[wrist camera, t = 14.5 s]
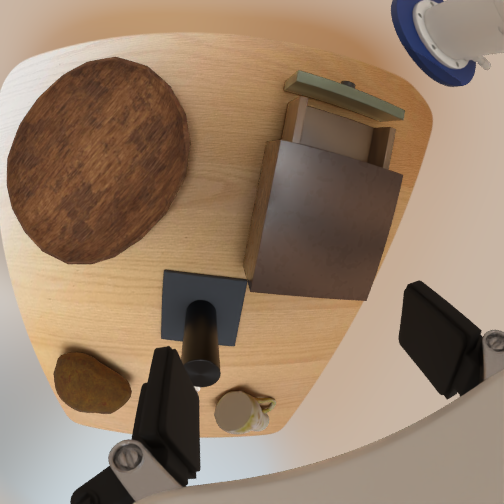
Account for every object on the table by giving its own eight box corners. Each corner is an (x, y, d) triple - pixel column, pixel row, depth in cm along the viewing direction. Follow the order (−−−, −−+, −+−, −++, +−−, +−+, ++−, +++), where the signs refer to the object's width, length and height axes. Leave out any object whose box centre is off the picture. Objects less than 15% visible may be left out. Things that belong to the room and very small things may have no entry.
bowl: (229, 165, 30) (232, 168, 25) (91, 278, 32) (76, 297, 27) (130, 39, 23) (118, 23, 18) (8, 165, 25) (-15, 170, 20)
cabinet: (266, 141, 29) (280, 139, 23) (372, 168, 32) (403, 175, 26) (242, 265, 34) (250, 292, 28) (343, 276, 36) (366, 301, 30)
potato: (118, 398, 39) (108, 438, 31) (58, 363, 36) (39, 399, 27) (138, 374, 38) (128, 417, 30) (71, 333, 34) (48, 371, 26)
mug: (248, 423, 45) (228, 456, 36) (225, 381, 46) (200, 410, 37) (285, 416, 43) (271, 451, 34) (263, 371, 44) (243, 402, 34)
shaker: (218, 301, 34) (222, 361, 24) (214, 326, 36) (218, 388, 25) (187, 298, 34) (180, 357, 24) (185, 323, 35) (179, 385, 25)
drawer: (287, 71, 26) (300, 59, 21) (383, 104, 28) (406, 100, 24) (262, 199, 31) (271, 207, 26) (360, 217, 33) (380, 228, 28)
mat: (246, 279, 35) (247, 281, 34) (234, 343, 38) (234, 346, 37) (164, 269, 33) (163, 271, 32) (161, 336, 36) (161, 339, 35)
